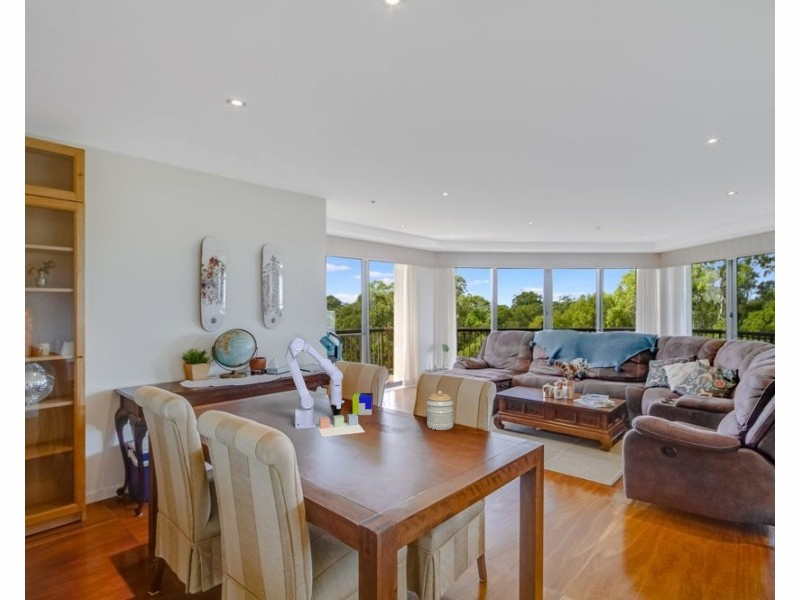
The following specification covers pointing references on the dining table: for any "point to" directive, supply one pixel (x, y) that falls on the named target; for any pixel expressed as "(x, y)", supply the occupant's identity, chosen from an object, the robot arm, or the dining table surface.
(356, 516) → the dining table surface
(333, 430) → the mat
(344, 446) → the dining table surface
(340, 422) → the sage block
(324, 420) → the terracotta block
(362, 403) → the puzzle toy
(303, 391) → the robot arm
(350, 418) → the slate block
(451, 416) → the jar
